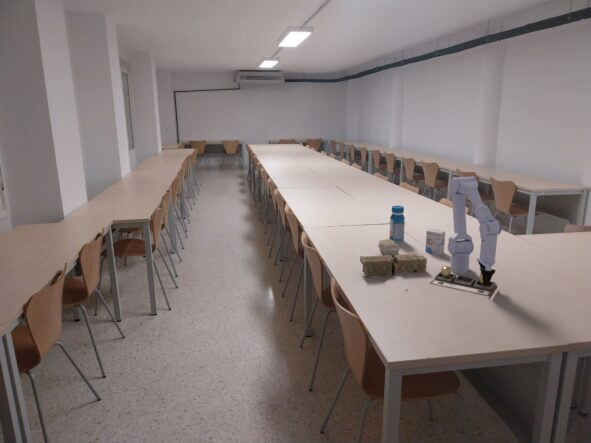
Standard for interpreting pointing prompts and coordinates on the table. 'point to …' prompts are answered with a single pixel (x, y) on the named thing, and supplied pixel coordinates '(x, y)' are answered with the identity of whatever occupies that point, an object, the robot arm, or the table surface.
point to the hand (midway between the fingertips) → (485, 281)
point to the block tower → (392, 264)
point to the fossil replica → (388, 247)
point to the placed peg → (446, 272)
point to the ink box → (435, 241)
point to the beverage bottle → (397, 224)
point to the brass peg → (482, 281)
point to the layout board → (464, 284)
